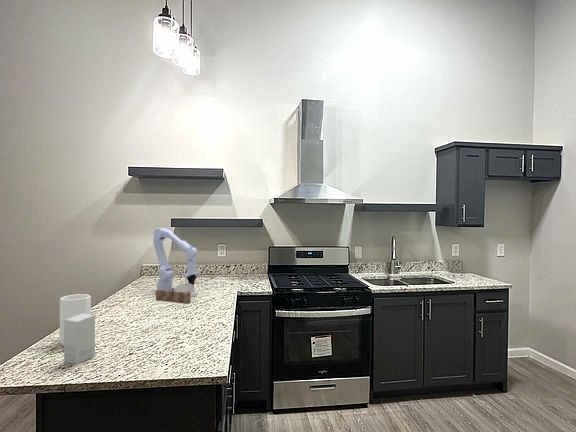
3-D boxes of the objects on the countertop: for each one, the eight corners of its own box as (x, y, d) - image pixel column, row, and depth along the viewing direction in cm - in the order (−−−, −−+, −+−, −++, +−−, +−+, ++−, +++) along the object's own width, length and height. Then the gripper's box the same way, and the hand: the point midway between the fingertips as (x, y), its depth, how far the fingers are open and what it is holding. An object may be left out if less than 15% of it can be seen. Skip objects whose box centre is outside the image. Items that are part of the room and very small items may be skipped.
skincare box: (82, 354, 136) (82, 312, 136) (96, 356, 134) (96, 314, 134) (62, 362, 128) (62, 318, 128) (77, 365, 126) (77, 320, 126)
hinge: (177, 300, 221) (173, 284, 222) (172, 302, 223) (168, 286, 225) (197, 295, 235) (194, 280, 237) (192, 297, 237) (189, 282, 239)
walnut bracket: (155, 299, 223) (155, 290, 223) (165, 296, 231) (165, 287, 231) (188, 303, 215) (188, 293, 215) (196, 300, 223) (197, 290, 223)
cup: (57, 347, 142) (57, 301, 142) (62, 338, 152) (62, 295, 152) (89, 344, 147) (89, 298, 147) (91, 335, 157) (92, 293, 157)
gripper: (190, 267, 230) (190, 289, 230) (203, 265, 243) (202, 285, 243) (181, 267, 232) (180, 288, 232) (194, 264, 246) (194, 284, 246)
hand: (191, 286), depth 238 cm, fingers closed
